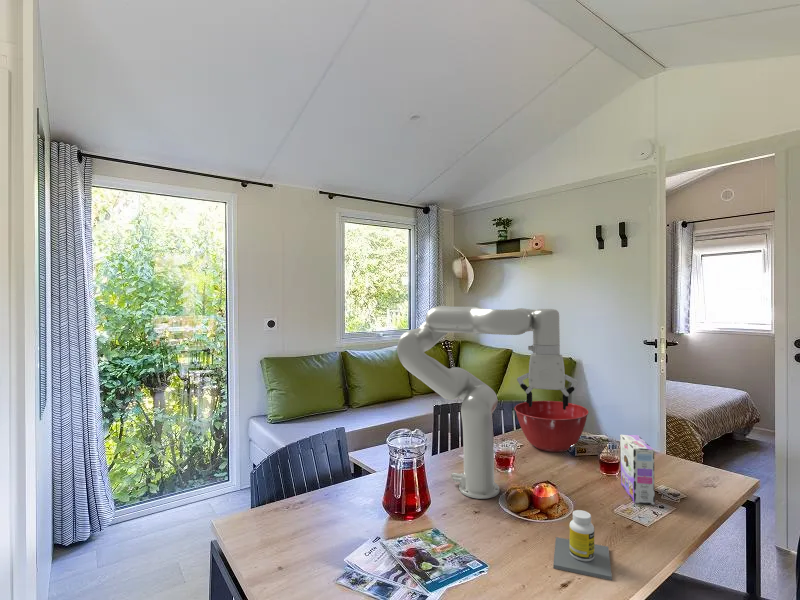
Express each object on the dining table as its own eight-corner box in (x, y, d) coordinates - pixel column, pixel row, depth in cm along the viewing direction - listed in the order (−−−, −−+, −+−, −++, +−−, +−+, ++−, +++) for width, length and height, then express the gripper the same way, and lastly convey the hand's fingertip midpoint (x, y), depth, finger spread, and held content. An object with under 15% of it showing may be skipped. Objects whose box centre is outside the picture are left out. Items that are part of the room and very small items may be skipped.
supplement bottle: (592, 565, 98) (592, 522, 98) (567, 557, 101) (567, 516, 101) (596, 552, 103) (595, 511, 103) (572, 546, 106) (571, 506, 106)
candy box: (655, 505, 127) (655, 449, 126) (633, 504, 128) (633, 448, 128) (639, 485, 140) (639, 434, 140) (619, 483, 141) (619, 433, 141)
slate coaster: (553, 568, 99) (553, 564, 99) (555, 540, 110) (555, 536, 110) (611, 580, 94) (611, 576, 94) (608, 549, 105) (608, 546, 105)
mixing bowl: (518, 458, 165) (518, 417, 165) (512, 433, 193) (511, 399, 193) (597, 461, 160) (597, 419, 160) (579, 436, 188) (578, 400, 188)
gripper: (515, 350, 130) (515, 408, 130) (577, 352, 123) (578, 413, 123) (518, 347, 137) (519, 402, 137) (577, 349, 130) (578, 406, 130)
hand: (547, 407), depth 130 cm, fingers open, 9 cm apart
